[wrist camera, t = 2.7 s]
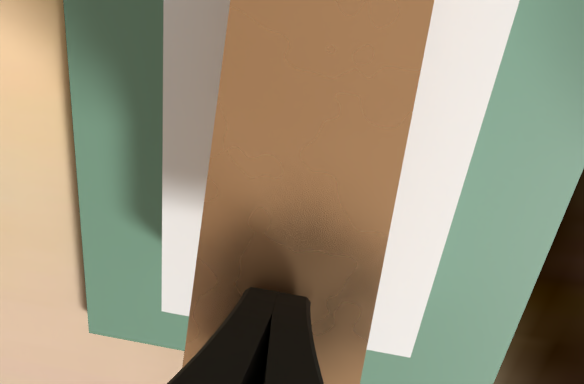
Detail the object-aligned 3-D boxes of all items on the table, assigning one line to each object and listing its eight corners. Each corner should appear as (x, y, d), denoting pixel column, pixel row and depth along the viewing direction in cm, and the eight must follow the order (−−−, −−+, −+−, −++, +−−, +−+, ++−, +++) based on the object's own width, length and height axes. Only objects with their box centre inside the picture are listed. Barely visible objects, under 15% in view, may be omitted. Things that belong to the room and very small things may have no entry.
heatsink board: (894, -628, 10) (1278, -1017, 6) (479, 391, 22) (503, 506, 18) (30, -692, 11) (-190, -1064, 7) (97, 319, 23) (36, 412, 19)
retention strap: (461, -159, 11) (468, -174, 10) (353, 396, 13) (354, 410, 12) (261, -185, 11) (256, -201, 11) (188, 364, 13) (181, 377, 13)
